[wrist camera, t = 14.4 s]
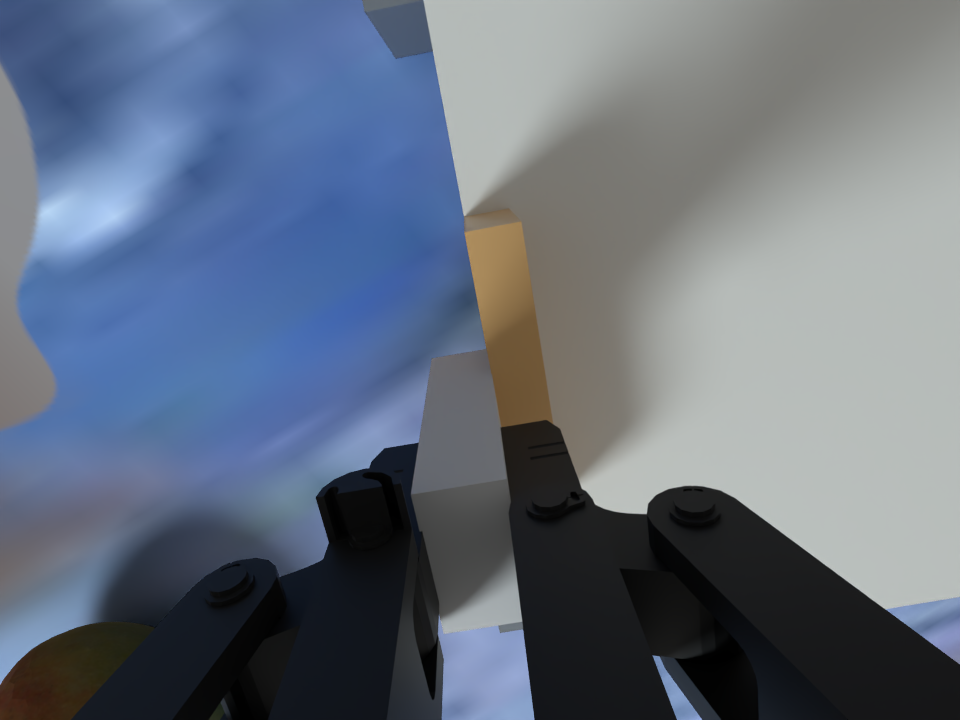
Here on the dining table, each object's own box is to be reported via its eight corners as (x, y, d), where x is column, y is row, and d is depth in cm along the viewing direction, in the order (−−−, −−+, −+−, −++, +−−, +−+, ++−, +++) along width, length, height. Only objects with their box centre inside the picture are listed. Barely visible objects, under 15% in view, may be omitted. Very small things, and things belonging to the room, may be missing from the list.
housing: (389, 30, 22) (355, -32, 15) (1283, -152, 21) (1697, -309, 14) (491, 518, 29) (500, 632, 22) (1165, 401, 28) (1401, 482, 21)
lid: (413, -55, 14) (392, -146, 10) (1121, -201, 14) (1414, -363, 10) (544, 642, 21) (564, 762, 17) (1016, 563, 21) (1158, 667, 17)
